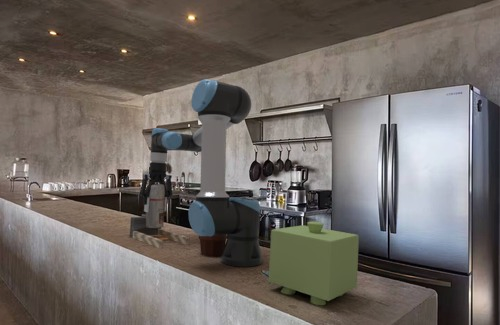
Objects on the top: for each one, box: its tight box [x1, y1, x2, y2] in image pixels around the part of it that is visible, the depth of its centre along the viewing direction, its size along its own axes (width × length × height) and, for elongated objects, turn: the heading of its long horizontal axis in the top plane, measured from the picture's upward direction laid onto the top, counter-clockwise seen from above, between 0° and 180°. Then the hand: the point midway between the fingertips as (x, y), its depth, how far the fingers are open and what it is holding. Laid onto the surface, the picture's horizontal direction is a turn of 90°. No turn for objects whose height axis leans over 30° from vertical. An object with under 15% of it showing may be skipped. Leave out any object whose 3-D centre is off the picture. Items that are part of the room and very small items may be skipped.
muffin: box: [198, 234, 227, 257], centre depth 135 cm, size 12×11×10 cm
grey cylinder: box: [145, 183, 165, 229], centre depth 158 cm, size 8×8×20 cm
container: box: [268, 220, 360, 306], centre depth 97 cm, size 19×16×20 cm
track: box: [129, 215, 190, 249], centre depth 154 cm, size 27×14×9 cm, turn 44°
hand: (155, 211), depth 157 cm, fingers closed on grey cylinder, 8 cm apart
